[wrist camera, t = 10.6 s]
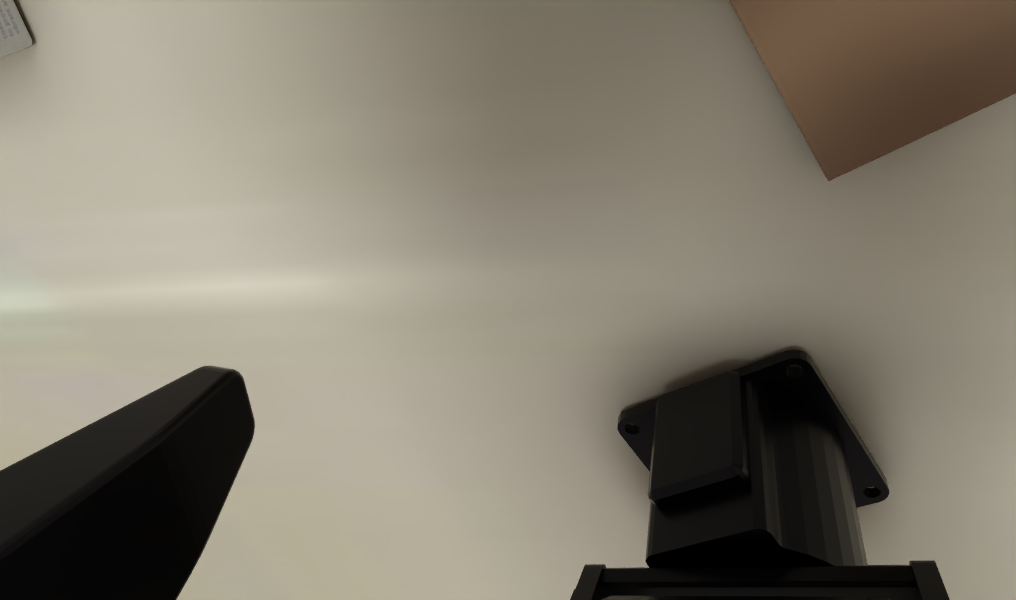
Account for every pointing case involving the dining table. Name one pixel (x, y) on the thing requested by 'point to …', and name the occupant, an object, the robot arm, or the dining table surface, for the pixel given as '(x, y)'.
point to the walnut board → (881, 68)
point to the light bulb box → (12, 29)
